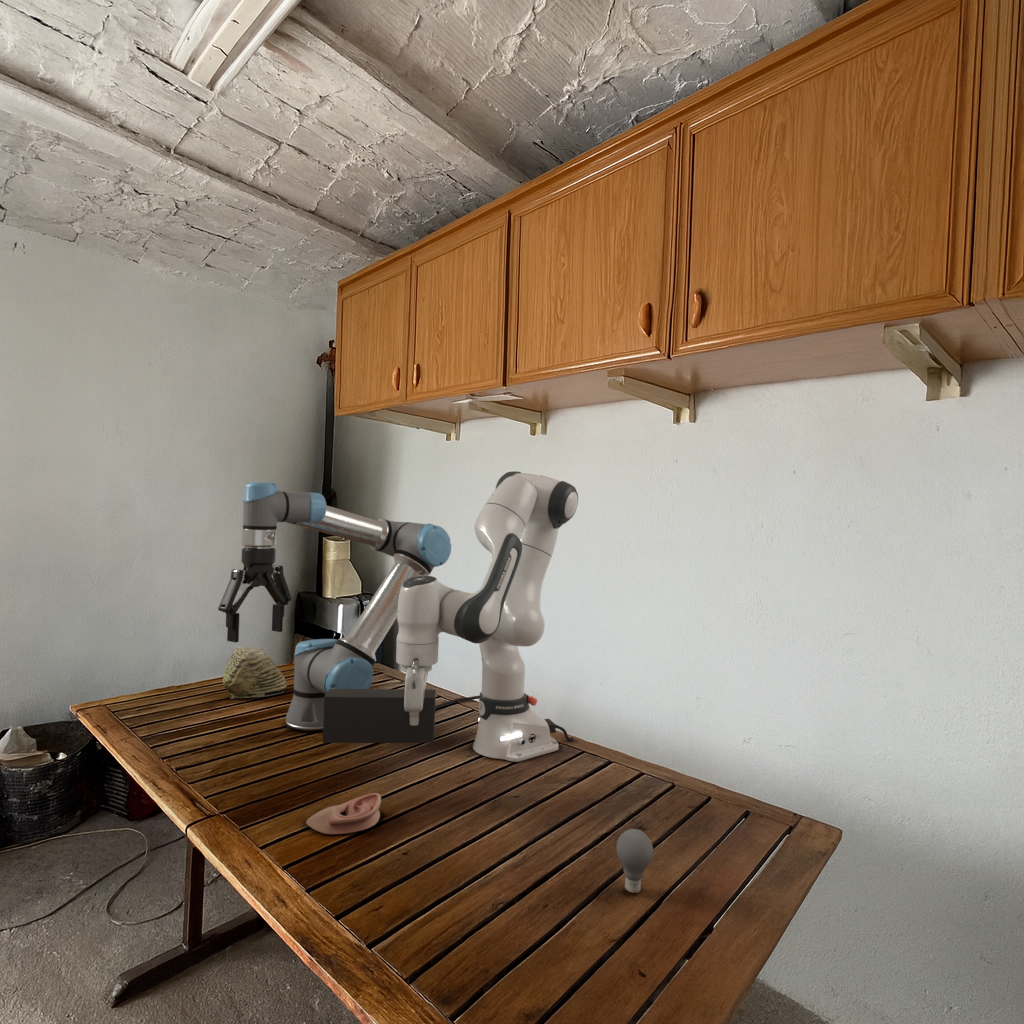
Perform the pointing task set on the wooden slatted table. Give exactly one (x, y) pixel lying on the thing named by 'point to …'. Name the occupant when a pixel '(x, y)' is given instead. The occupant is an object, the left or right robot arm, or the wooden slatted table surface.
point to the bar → (375, 717)
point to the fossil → (252, 674)
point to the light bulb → (634, 857)
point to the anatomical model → (347, 816)
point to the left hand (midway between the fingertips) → (255, 636)
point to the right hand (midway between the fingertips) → (415, 718)
